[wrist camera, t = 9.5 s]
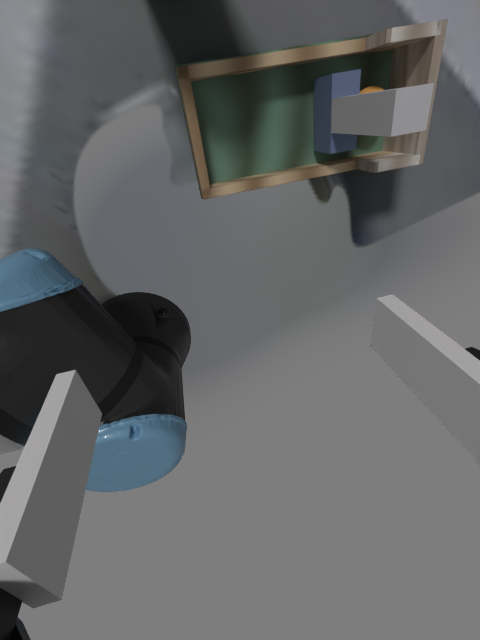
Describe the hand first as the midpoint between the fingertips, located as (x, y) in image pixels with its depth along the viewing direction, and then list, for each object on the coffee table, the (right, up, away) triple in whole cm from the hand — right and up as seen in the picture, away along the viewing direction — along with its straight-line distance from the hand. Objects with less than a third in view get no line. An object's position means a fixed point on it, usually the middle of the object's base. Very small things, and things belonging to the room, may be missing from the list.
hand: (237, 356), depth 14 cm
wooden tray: (+6, +26, +23) cm, 35 cm away
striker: (+10, +26, +22) cm, 35 cm away
